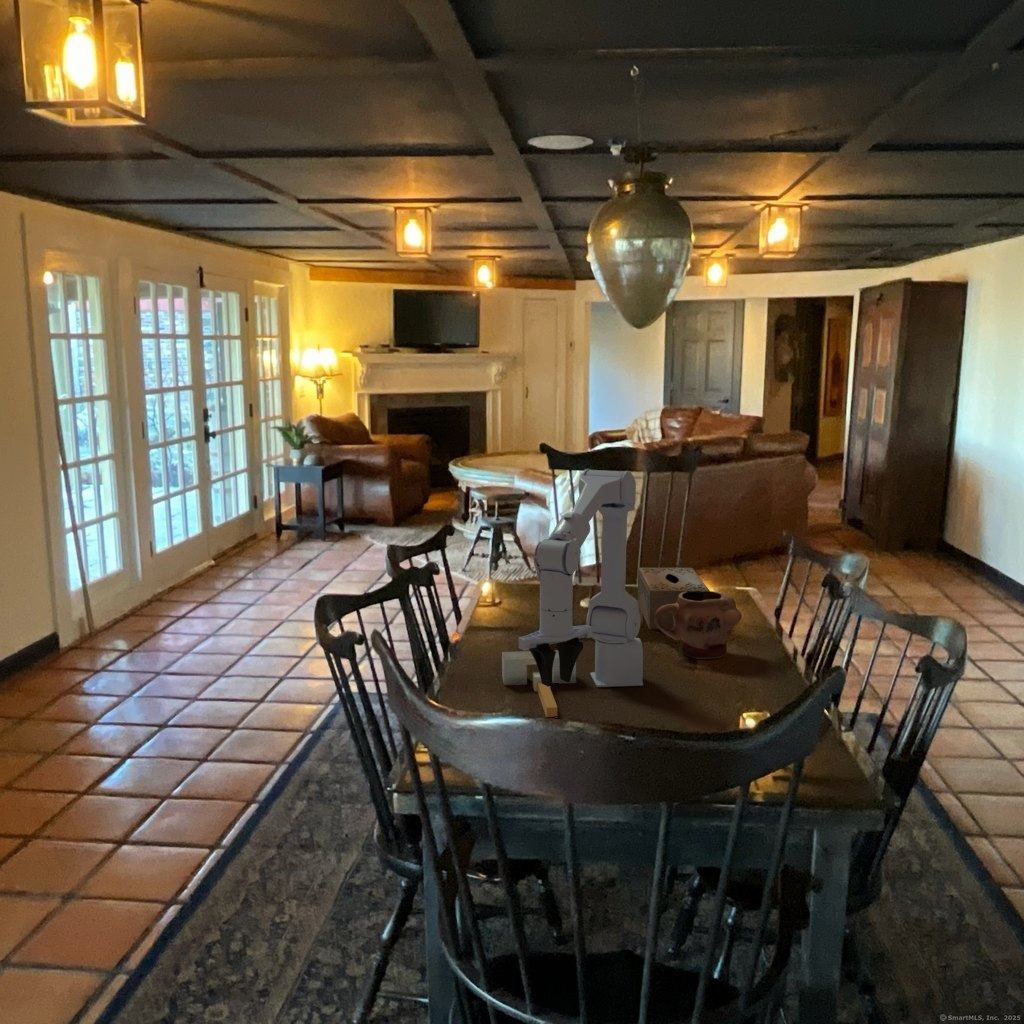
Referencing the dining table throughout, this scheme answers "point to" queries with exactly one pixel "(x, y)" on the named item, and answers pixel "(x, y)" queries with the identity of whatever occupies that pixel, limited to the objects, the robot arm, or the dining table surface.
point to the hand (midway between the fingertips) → (555, 682)
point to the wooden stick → (545, 696)
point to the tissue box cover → (664, 591)
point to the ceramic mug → (701, 622)
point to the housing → (517, 668)
